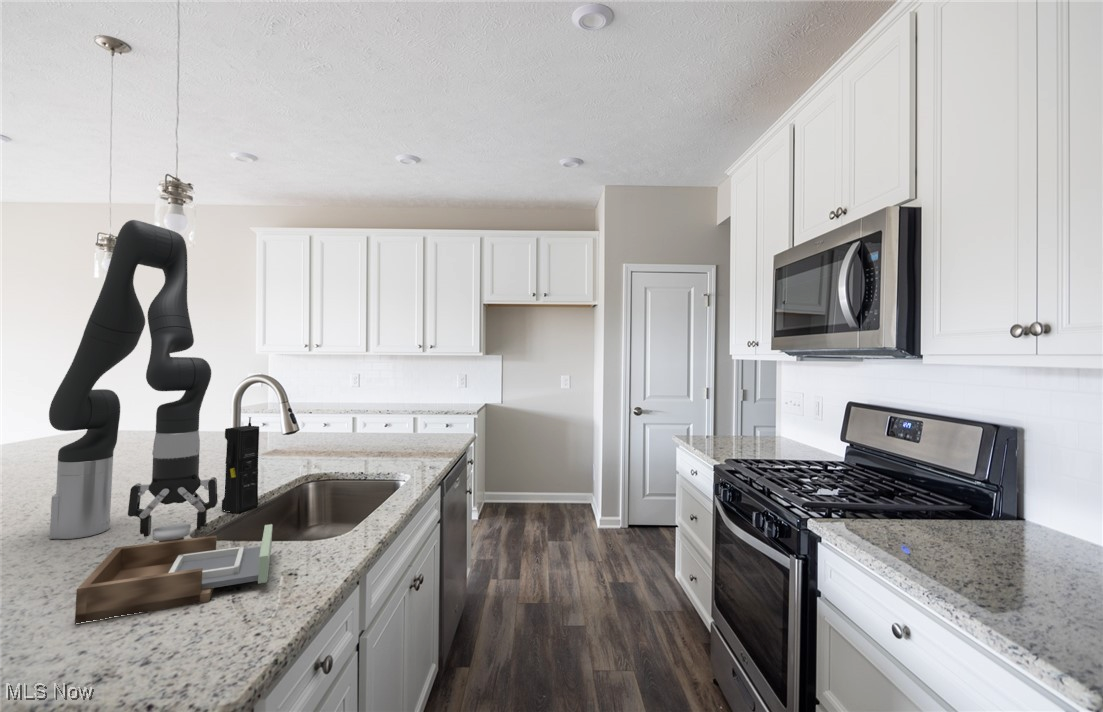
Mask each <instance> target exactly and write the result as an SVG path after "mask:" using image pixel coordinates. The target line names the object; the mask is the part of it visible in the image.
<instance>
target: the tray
mask: <svg viewBox="0 0 1103 712" xmlns="http://www.w3.org/2000/svg"><path fill="white" fill-rule="evenodd" d="M272 542H273V524H272V523H270V524H264V529H263V534H262V539H261V544H260V546H255V547H248V548H246V547H245V546H237V547H229V548H222V549H216V550H213V551H205V552H197V553H190V554H182V555H178V557H177V558H176V560H175V562H174V563H173V565H172V567H171V569H170V570H169V572H168V573H172V572H179V571H186V570H193V569H200V568H203V571H202V590H203V589H209V588H214V589H215V588H221V587H225V586H226V587H227V586H232V585H239V584H240V585H241V584H245V583H251V582H257V584H264V583H268V576H269V570H270V560H271V552H272Z"/></svg>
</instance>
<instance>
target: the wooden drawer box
mask: <svg viewBox="0 0 1103 712" xmlns="http://www.w3.org/2000/svg"><path fill="white" fill-rule="evenodd" d="M217 536H218V535H209V536H200V537H193V538H184V539H183V540H174V541H166V542H159V541H156V542H151V543H150V542H149V543H144V544H143V543H142V544H134V545H125V546H115V548H114V549H113V550H112V551H111V552H110V553H109V554H108V555H107V556H106V557H105V558H104V559H103V561H101V562H100V563H99V564H98V566H97V567H96V568H95V569H94V570H93V571H91V573H90V575H88V576H87V577H86V578H85V580H84V581H83V582H82V583H81V584H80V585H79V586H78V587H77V588H76V593H75V594H76V597H75V613H74V615H75V616H74V625H75V624H76V623H81V622H86V621H93V620H100V619H105V618H109V617H114V616H121V615H127V614H134V613H139V612H146V613H149V612H148V611H152V612H157V611H156V610H158V611H163V610H168V609H173V608H174V607H175V608H180V607H185V606H192V605H198V604H202V603H203V604H204V603H208V602H210V600H211V597H212V595H213V592H214V589H215V588H209V589H203V590H202V571H203V568H200V569H193V570H186V571H179V572H172V573H168V572H169V570H170V569H171V567H172V565H173V563H174V562H175V560H176V558H177V557H178V555H182V554H190V553H197V552H205V551H213V550H217V539H218V537H217ZM100 621H101V620H100Z"/></svg>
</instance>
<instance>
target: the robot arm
mask: <svg viewBox="0 0 1103 712" xmlns="http://www.w3.org/2000/svg"><path fill="white" fill-rule="evenodd" d="M117 234H118V235H117V237H116V239H115V244H114V246H113V249H112V254H111V257H110V261H109V265H108V268H107V271H106V276H105V279H104V281H103V284H102V288H101V290H100V293H99V295H98V297H97V300H96V302H95V305H93V306H94V307H93V309H92V311H91V313H90V316H89V318H88V320H87V323H86V325H85V329H84V330H83V333H82V334H83V335H82V337H81V339H80V343H79V345H78V348H77V350H76V353H75V355H74V357H73V359H72V362H71V364H70V367H69V368H68V370H67V372H66V374H65V375H64V377H63V379H62V381H61V383H60V384H59V386H58V389H57V390H56V391H55V394H54V396H53V398H52V400H51V403H50V406H49V411H48V420H49V423H50V425H51V427H53V428H54V429H56V430H58V431H61V432H73V431H82V430H84V431H85V430H86V431H85V434H84V435H83V436H82V437H80V438H79V439H76V440H75V441H73V442H71V443H68V444H66V445H62V447H60V448H59V450H58V453H57V465H56V466H57V469H56V489H55V494H54V495H52V496H51V502H50V520H49V521H50V523H49V524H50V525H49V538H48V539H49V540H52V539H54V540H55V539H57V540H70V539H71V540H72V539H79V538H86V537H91V536H95V535H98V534H101V533H104V532H106V531H108V530H109V529H110V527H111V525H110V523H111V508H112V507H111V506H112V490H113V489H112V487H113V467H114V451H115V449H116V445H117V442H118V434H119V425H120V420H121V419H120V418H121V402H120V399H119V396H118V393H116V392H115V391H114V390H111V389H106V388H105V389H104V388H102V389H97V388H96V389H93V388H94V386H95V384H96V383H97V381H99V379H101V378H102V376H104V375H105V374H106V373H107V372H109V371H110V370H111V369H112V368H114V367H115V366H117V364H119V363H120V362H121V361H123V360H125V359H126V358H127V357H128V356H129V355H130V354H131V353H132V352H133V351H135V349H136V348H137V346H138V345H139V344H138V343H139V341H140V338H141V336H142V334H143V331H144V329H145V325H146V316H145V312H144V310H143V308H142V306H141V303H140V300H139V298H138V296H137V293H136V290H135V287H134V279H135V272H136V270H137V267H138V265H141V266H145V267H150V268H152V269H159V270H162V272H163V274H164V284H163V286H162V287H161V289H160V290H159V292H158V293H157V294H156V296H155V297H154V298H153V300H152V301H151V302H150V304H149V306H148V307H149V308H148V310H147V323H148V330H149V335H150V340H151V341H150V343H151V344H150V345H151V346H150V355H149V359H148V364H147V366H146V367H147V369H146V373H145V379H146V382H147V385H148V386H150V388H152V389H153V390H155V391H156V392H157V391H158V392H184V391H185V392H184V393H183V395H182V396H181V397H180V398H179V399H177V400H175V401H169V402H166V403H165V402H164V403H162V404H160V405H158V407H157V409H156V414H155V415H156V416H155V435H154V439H153V446H152V447H153V449H152V469H151V470H152V471H151V473H152V474H151V475H152V476H151V482H150V484H141V483H136V484H134V485H133V486H132V487H130V492H129V500H128V509H127V516H128V517H130V518H131V517H137V518H138V519H139V520H140V521H139V522H140V523H139V533H140V535H143V537H144V538H146V537H149V536H150V535H151V533H152V515H151V512H153V510H155V508H156V507H158V505H159V504H163V505H165V506H166V505H171V504H184V503H185V502H188V503H189V504H190V505H191V506H193V507H194V508H195V509H196V510H197V514H196V515H197V516H196V531H200V530H201V531H202V529H203V528H204V527H205V525H206V524H207V513H208V510H210V509H214V508H215V507H216V506H217V504H218V479H217V477H214V476H213V477H211V478H208V479H200V476H199V475H200V474H199V472H200V448H201V447H200V446H201V440H200V430H199V429H200V411H201V407H202V404H203V401H204V398H205V395H206V392H207V390H208V388H209V385H210V382H211V380H212V379H211V378H212V369H211V366H210V365H211V364H209V362H207V360H206V359H204V358H202V357H193V356H192V357H188V356H187V357H186V356H183V357H182V356H181V357H180V356H171V354H173V353H174V354H175V353H179V352H184V351H186V350H187V351H188V349H190V348H191V347H193V345H194V342H195V338H194V333H193V328H192V327H193V326H192V323H191V317H190V313H189V307H188V305H189V304H188V249H187V243H186V241H185V238H184V236H183V235H182V234H180V233H179V232H176V231H174V230H172V229H167V228H165V227H162V226H158V225H155V224H152V223H148V222H145V221H141V220H138V219H137V220H136V219H130V220H127V221H126V222H125V223H124V224H123V225H122V226H121V228H120V230H119V232H118V233H117ZM200 487H203V488H204V489H205V490H206V491H208V501H207V502H206V501H204V500H203V499H202V497H201V496H200V495H199V493H197V490H198V489H199V488H200ZM147 491H148V492H149V493H151V495H152V496H154V498H153V500H152V501H151V502H150V503H149V504H148V505H147V506H146V507H145V508H141V507H140V505H141V499H142V498H141V496H143V495H145V493H146V492H147Z"/></svg>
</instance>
